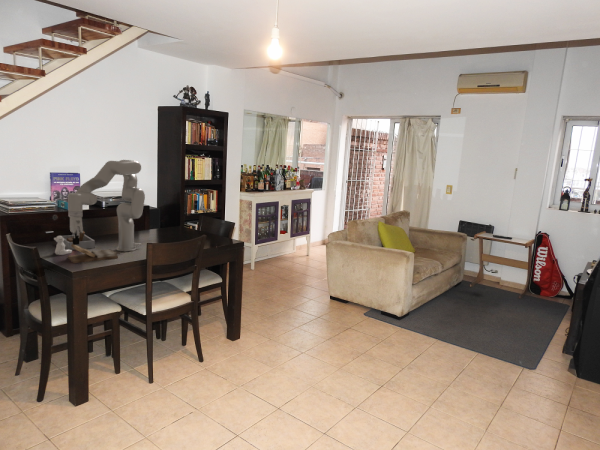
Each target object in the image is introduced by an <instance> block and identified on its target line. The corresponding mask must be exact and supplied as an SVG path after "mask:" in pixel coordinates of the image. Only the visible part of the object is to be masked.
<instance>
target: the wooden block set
mask: <svg viewBox="0 0 600 450" xmlns="http://www.w3.org/2000/svg"><path fill="white" fill-rule="evenodd" d="M85 233H86V232H85V231H84V230H83V233H80V232H79V242H81V241H82V240H83V237H84V234H85ZM85 235H86V234H85ZM67 241H69V242H73V237H72V238H67Z"/></svg>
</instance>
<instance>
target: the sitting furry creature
mask: <svg viewBox="0 0 600 450" xmlns="http://www.w3.org/2000/svg"><path fill="white" fill-rule="evenodd" d="M62 236H63V235H57V236H56V237H53V240H54V241H55V242H56V247H55V250H54V253H55V255H57V256H64V255H68V254H69V255H70V254H72V253H73V250H69V249H66V248H65V246H66V245H65V244H64V243H63V241H64V239H63V237H62Z"/></svg>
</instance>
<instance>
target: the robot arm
mask: <svg viewBox="0 0 600 450" xmlns="http://www.w3.org/2000/svg"><path fill="white" fill-rule="evenodd" d="M141 170H142V165H141V163H140V162H139V161H137V160H131V159H121V160H108V161H106V162H105V164H104V165H102V167H101V168H100V170H99V171H98V172H97V174H95V176H94V177H92V178H90V179H89V180H87V181H85V182H84V183H83V184H81V186H79V188H78V189H77V190H76V192H71V193H70V192H69V193H68V195H67V211H68V217H69V230H70V232H71V233H72V234H71V235H73V245H79V232H80V233H83V231H84V227H83V206H92V205H95V204H96V203H97V202H98V197H97V195H96V194H95V193H92V192H93V191H95V190H99V189H102V188H104V187H106V186H108V184H109V183H110V182H111V181H112V180H113V178H114V177H115V176H116V175H117V176H118V175H119V176H122V177H123V185H122V190H121V199H123V200H124V201H126V202H122V203H120V204H119V205H118V206H116V216H117V219H118V222H117V223H118V246H117V247H116V249H115V250H116V251H118V252H134V251H136V250H137V247H141V246H142V243H141V242H135V224H134V223H135V222H134V220H136V219H140V218H141V217H142V216H143V210H144V205H145V200H146V199H145V198H146V194H145V191H144V190H143V189H141V188H139V187H138V176H137V174H139V173H140V172H141ZM128 202H129V203H128Z"/></svg>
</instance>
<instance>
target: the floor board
mask: <svg viewBox="0 0 600 450" xmlns="http://www.w3.org/2000/svg"><path fill="white" fill-rule="evenodd" d="M90 252H92V253H93V254H95V257H92V256H89V255H87V254H85V253H81V254H73V255H72V254H71V255H70V254H69V255H67V259H68V260H69V261H70V262H71V263H73V264H78V263H79V264H81V263H87V262H96V261H98V262H99V261H106V260H113V259H114V260H115V259H118V258H119V256H118V255H117V252H116V251H113V250H112V249H111V248H110V249H99V250H90Z"/></svg>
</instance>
